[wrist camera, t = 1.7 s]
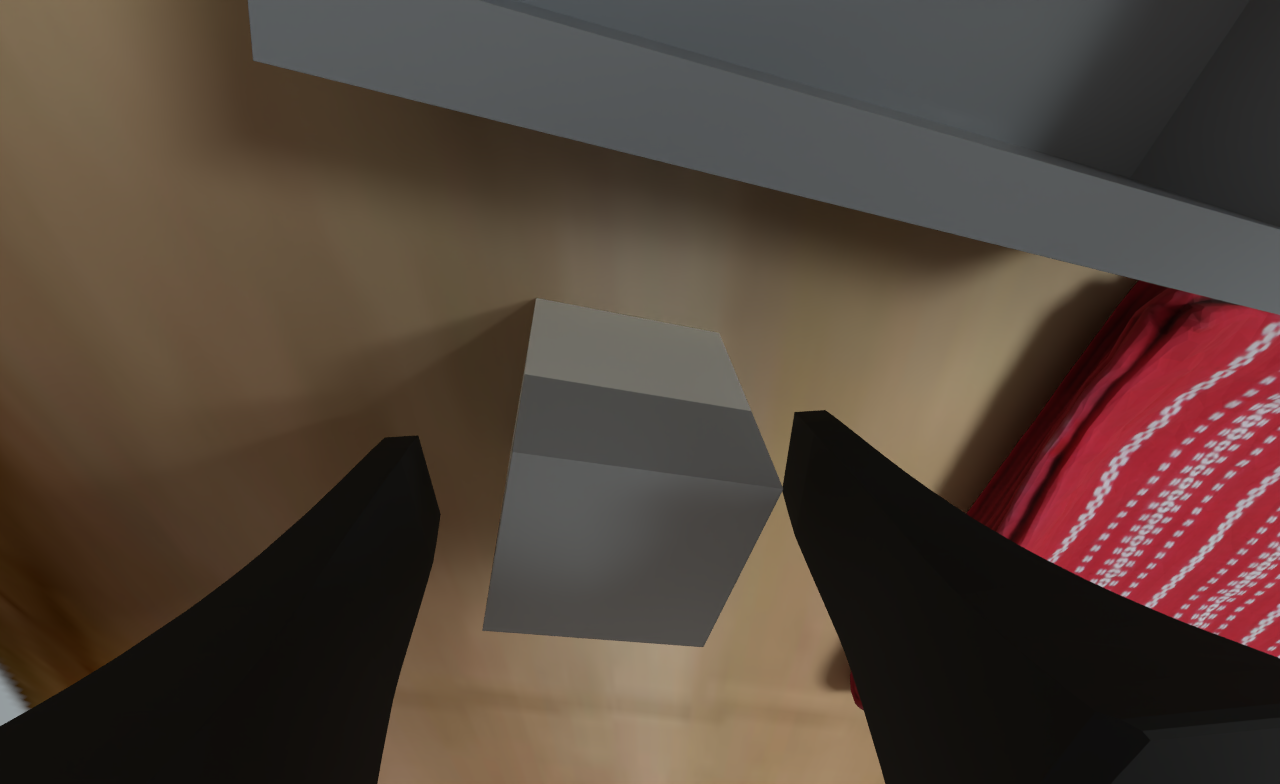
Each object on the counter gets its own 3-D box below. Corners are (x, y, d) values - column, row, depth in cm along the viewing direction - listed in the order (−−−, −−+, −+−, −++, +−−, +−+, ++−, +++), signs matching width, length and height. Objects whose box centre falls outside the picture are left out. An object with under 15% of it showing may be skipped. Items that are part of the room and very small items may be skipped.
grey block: (718, 331, 13) (782, 489, 9) (669, 468, 15) (703, 647, 11) (536, 296, 12) (512, 452, 8) (511, 446, 14) (482, 631, 10)
